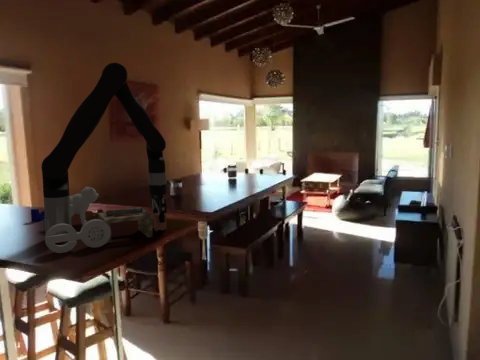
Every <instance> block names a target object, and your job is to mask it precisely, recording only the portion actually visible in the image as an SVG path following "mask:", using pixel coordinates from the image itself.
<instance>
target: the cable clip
mask: <svg viewBox="0 0 480 360" xmlns="http://www.w3.org/2000/svg"><path fill="white" fill-rule="evenodd" d="M30 216H31V222H32V223H40V222H42V221H44V220H43V219H45V210H43V211H41V212H40V210H39V208H32V209H30Z"/></svg>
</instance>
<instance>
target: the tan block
mask: <svg viewBox="0 0 480 360" xmlns="http://www.w3.org/2000/svg"><path fill="white" fill-rule="evenodd" d="M150 214H152V230H154V231H153V232H159V231H158V230H161V231H166V230H167V214H166V213H165V222H164V223H160V222H159V212H158V213H153V212H152V213H150ZM153 228H154V229H153ZM165 229H166V230H165Z"/></svg>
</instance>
